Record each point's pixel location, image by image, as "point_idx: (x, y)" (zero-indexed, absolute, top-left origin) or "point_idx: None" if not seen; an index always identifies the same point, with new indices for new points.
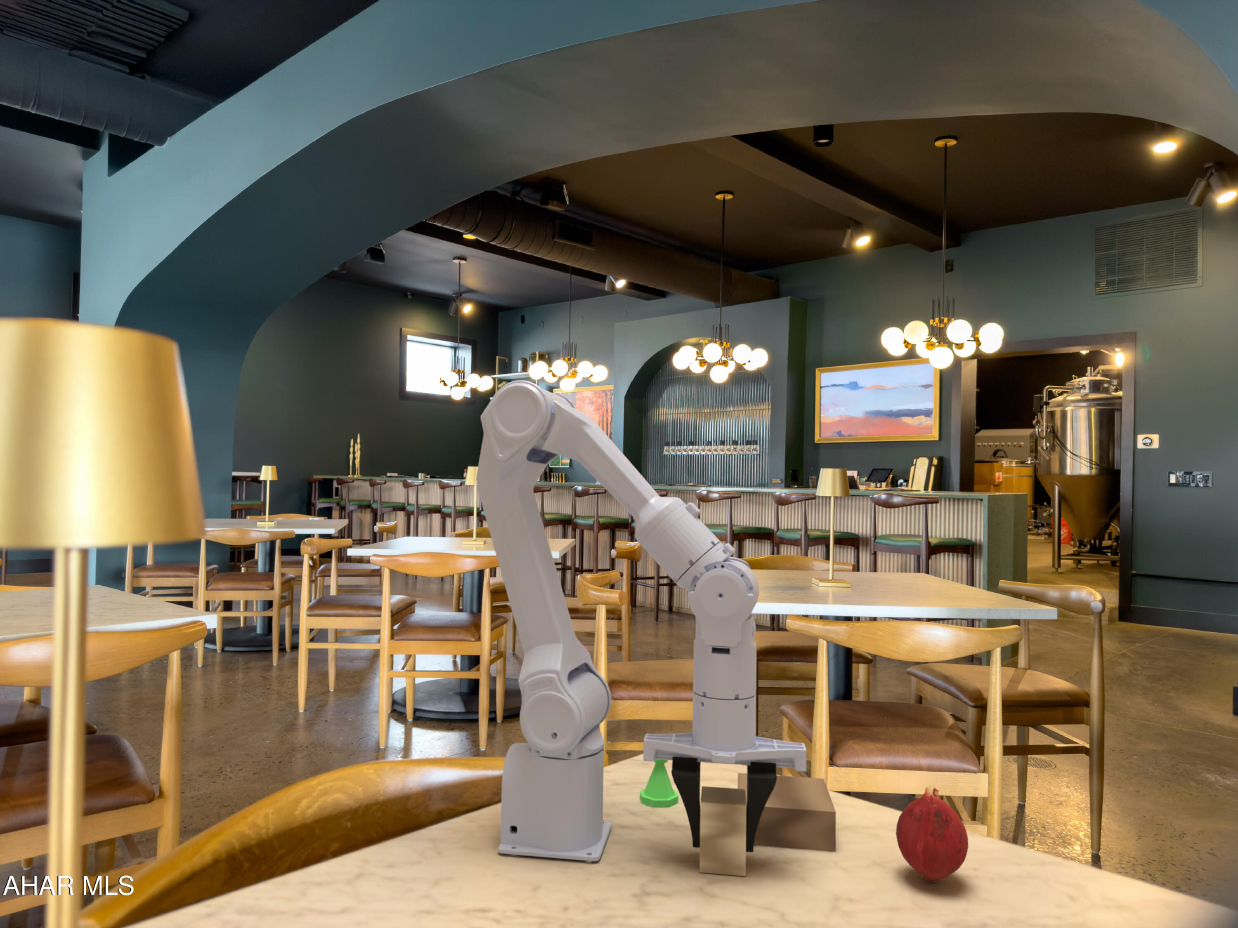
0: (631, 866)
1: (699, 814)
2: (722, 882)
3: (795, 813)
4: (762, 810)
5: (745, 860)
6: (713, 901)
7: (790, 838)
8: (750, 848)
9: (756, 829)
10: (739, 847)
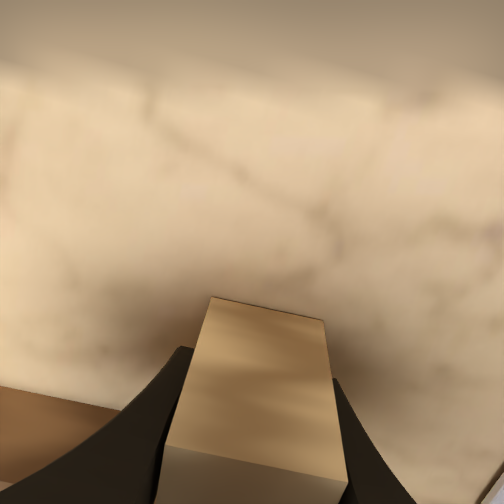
0: (486, 357)
1: None
2: (276, 274)
3: (30, 473)
4: (106, 423)
5: (205, 318)
6: (323, 184)
7: (75, 420)
8: (183, 351)
9: (151, 381)
10: (216, 343)
